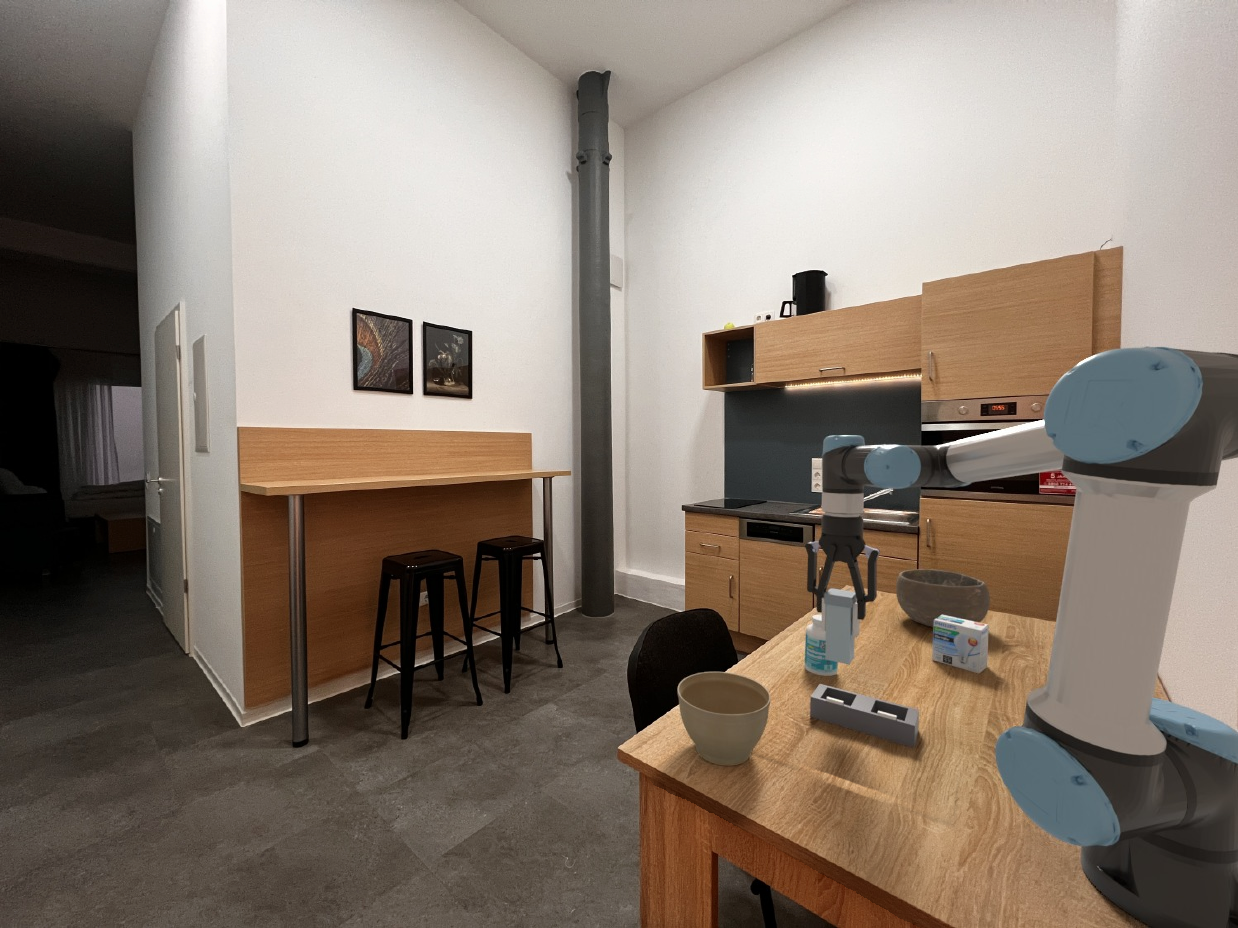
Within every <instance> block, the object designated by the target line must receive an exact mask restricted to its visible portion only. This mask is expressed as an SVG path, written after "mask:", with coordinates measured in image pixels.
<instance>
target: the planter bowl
mask: <svg viewBox="0 0 1238 928" xmlns="http://www.w3.org/2000/svg"><path fill="white" fill-rule="evenodd" d="M677 697H678V707H679V713H680V717H681V720H682V723H683V726H684V728H685V731H686V732H687V735H688V736H689V738H690V740H691V741H692V742H693V744H694V745H695V749H696V752H697V753H698V755H699V756H700V757H701V758H702V759H704V760H706V761H707V762H709V763H712V764H715V765H719V766H728V767H729V766H737V765H741V764H743V763H745V762H746V761H748V760H749V758H750V757H751V753H752V750H754V748H755V747H757V745H758V743H759V742H760V740H761V738H762V736H763V734H764V732H765V729H766V727H767V723H768V718H769V709H770V705H771V694H770V691H769V690H768V689H767V688H766V687H765V686H764V685H763V684H762V683H760V682H758V681H756V680H755V679H752V678H750V677H748V676H744V675H741V674H737V673H733V672H732V673H731V672H724V671H704V672H697V673H695V674H691V675H689V676H687V677H684V678H683V679H681V681H680V682H679V683H678V686H677Z"/></svg>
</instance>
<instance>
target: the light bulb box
mask: <svg viewBox="0 0 1238 928" xmlns="http://www.w3.org/2000/svg"><path fill="white" fill-rule="evenodd" d="M932 628H933V632H932V653H931V654H932V657H931V658H932V661H934V662H938V663H942V664H943V665H948V666H952V667H955V668H959V669H962V670H965V671H969V672H972V673H976V674H980V673H982V672H983V671H984V670H985V669H986V668H988V657H989V656H988V654H989V653H988V652H989V651H988V649H989V628H990V627H989V624H988V623H987V624H986V623H982V622H980V623H978V622H974V621H969V620H965V619H960V618H956V617H951V616H947V615H941V616H939V617H938V618H936V619H934V627H932Z"/></svg>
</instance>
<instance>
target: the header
mask: <svg viewBox="0 0 1238 928" xmlns="http://www.w3.org/2000/svg"><path fill="white" fill-rule="evenodd" d="M809 697H810V698H809V701H810V702H809V703H810V705H809V707H810V708H809V710H810V711H809V717H810V718H812V719H816V720H819V721H823V722H826V723H830V724H833V725H836V726H840V727H842V728H846V729H849V730H852V731H856V732H859V733H862V734H864V735H865V734H866V735H869V736H873V737H875V738H879V739H883V740H884V741H885V740H886V741H889V742H892V743H896V744H899V745H902V746H906V747H908V748H912V749H915V748H916V743H917V738H918V734H919V727H920V726H919V723H920V721H919V720H920V709H917V708H915V707H910V706H906V705H903V704H898V703H895V702H892V701H891V702H890V701H887V700H883V699H880V698H876V697H872V696H867V695H866V694H865V695H864V694H860V693H856V692H853V691H849V690H846V689H841V688H837V687H834V686H831V685H826V684H823V683H819V684H818V686H817V687H816V689H815V690H814V691H813V692H812V694H811V695H810V696H809Z"/></svg>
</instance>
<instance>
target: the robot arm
mask: <svg viewBox="0 0 1238 928" xmlns="http://www.w3.org/2000/svg"><path fill="white" fill-rule="evenodd" d="M1043 409H1044V410H1043V419H1042V420H1041V419H1040V420H1038V421H1033V422H1029V423H1025V424H1020V425H1015V426H1011V427H1008V428H1003V429H999V430H996V431H995V430H994V431H991V432H988V433H983V434H979V435H975V436H971V437H966V438H963V439H958V440H956V441H950V442H947V443H943V444H938V445H911V444H910V445H901V444H895V443H894V444H892V443H891V444H890V443H888V444H886V443H884V444H874V445H872V444H871V445H866V442H865V438H864V436H862V435H847V434H846V435H845V434H844V435H829V436H826V437H825V438H824V439H823V444H822V447H823V448H822V454H821V459H822V460H821V472H822V473H821V488H822V490H821V511H822V512H823V513H824V514H822V516H821V526H820V527H821V528H820V529H821V532H820V533H821V535H820V537H819V539H818V540H816V541H809V542H807V543H805V544H804V547H805V551H806V553H807V570H806V572H807V573H806V574H807V577H806V580H807V581H806V590H807V593H812V594H813V595H815V596H816V612H817V613H820V614H821V615H822V625H821V631H826V604H824V594H825V593H826V592H827V590H828V585H829V582H830V579H831V576H832V572H833V570H834V565H835V563H838V562H842V563H844V564H847V567H848V569H849V574H850V577H851V581H852V586H853V590H854V592H855V594H856V598H857V600H855V602H854V603H853V632H852V637H855V638H858V637H859V635H860V629H861V628H860V626H861V625H860V622H861V620H862V621H864V620H865V618H866V614H867V611H866V610H867V609H866V608H867V607H866V606H867V605H866V604H867V603H870V602H871V603H872V602H875V600H876V599H877V597H878V596H877V595H878V594H877V593H878V590H877V586H878V585H877V584H878V580H877V579H878V578H877V577H878V576H877V575H878V574H877V573H878V569H877V568H878V567H877V566H878V565H877V564H878V558H879V556H880V554H881V550H880V549H879V548H874V547H872V546H870V545H869V546H868V545H867V544H866V542H865V539H864V518H863V516H861V515H862V514H863V513H864V506H865V505H864V504H865V503H864V500H865V499H864V498H865V497H864V493H865V489H864V488H865V487H872V488H880V489H883V490H897V489H901V490H903V489H907V488H921V487H923V488H924V487H925V488H947V489H948V488H949V489H950V488H958V487H966V486H969V485H971V484H972V483H975V482H982V481H989V480H990V481H991V480H997V479H1003V478H1010V477H1015V476H1016V477H1017V476H1018V477H1019V476H1023V475H1031V474H1038V473H1044V472H1050V471H1051V472H1052V471H1053V472H1054V471H1057V470H1058V471H1059V470H1060V471H1061V474H1062V475H1063V476H1064V477H1066V479H1067V480H1068V481H1069V482H1070V483H1072V484H1073V486H1074V487H1075V489H1076V490H1075V498H1074V504H1073V505H1074V506H1073V509H1072V510H1073V512H1072V516H1071V524H1070V529H1069V535H1068V543H1067V550H1066V557H1065V561H1064V569H1063V574H1062V581H1061V582H1062V583H1061V588H1060V593H1059V594H1060V595H1059V601H1058V607H1057V614H1056V620H1055V621H1056V622H1055V627H1054V634H1053V639H1052V646H1051V651H1050V658H1049V659H1050V660H1049V667H1048V671H1047V679H1046V685H1043V686H1042V687H1038V688H1034V689H1032V690H1031V691H1029V692H1028V694H1027V697H1026V702H1025V711H1024V717H1023V722H1022V725H1021V726H1020V725H1014V726H1012V727H1009V728H1008V729H1006V730H1005V731H1003V732H1002V733H1000V735H999V736H998V737H997V740H996V743H995V749H994V752H995V753H994V754H995V763H996V766H997V770H998V774H999V776H1000V777H1001V780H1002V782H1003V785H1005V787H1006V788H1007V789H1008V791H1009V793H1010V796H1011V798H1012V800H1014V802H1015V803H1016V805H1017V806H1018V807H1019V808H1020V810H1021V811H1022V812H1023V814H1025V815H1026V816H1027V817H1028V818H1029V819H1030V820H1031V821H1032V822H1033V823H1034V824H1035V825H1036V826H1037V827H1039V828H1040V829H1041V830H1042V831H1044V832H1045V833H1047V834H1048V835H1050V836H1052V837H1053V838H1055V839H1057V840H1058V841H1059V840H1060V842H1064V843H1067V844H1069V845H1073V846H1076V847H1077V846H1078V847H1080V865H1081V868H1082V871H1083V872H1084V874H1085V876H1086V875H1087V876H1086V877H1087V879H1088V880H1089V879H1090V880H1089V881H1090V882H1091V883H1092V885H1094V886H1096V887H1095V888H1096V889H1097V890H1098V891H1099V892H1100V891H1101V892H1102V893H1101V894H1102V895H1103V896H1105V897H1106V898H1107V899H1108V900H1109V901H1111V902H1112V903H1113V904H1114V905H1116V906H1117V907H1119V908H1120V909H1122V910H1123V911H1124V912H1125V913H1128V915H1131V917H1134V918H1135V919H1137V920H1138V921H1140V922H1141V923H1143V922H1144V924H1145V925H1147V926H1149V927H1151V928H1238V731H1237V730H1235V728H1233V727H1231V725H1228V724H1227V723H1225V722H1223V721H1221V720H1220V719H1217V718H1215V717H1213V716H1211V715H1208V714H1206V713H1203V712H1201V711H1198V710H1195V709H1193V708H1190V707H1187V706H1184V705H1181V704H1179V703H1178V704H1177V703H1175V702H1172V701H1168V700H1164V699H1161V698H1157V697H1154V696H1155V695H1154V694H1155V691H1156V690H1155V689H1156V685H1157V678H1158V674H1159V668H1160V663H1161V658H1162V654H1163V653H1162V652H1163V647H1164V640H1165V637H1166V631H1167V627H1168V622H1169V615H1170V610H1171V605H1172V600H1173V594H1174V589H1175V583H1176V578H1177V573H1178V568H1179V564H1180V563H1179V562H1180V559H1181V558H1180V557H1181V552H1182V546H1183V541H1184V536H1185V531H1186V527H1187V520H1188V515H1189V510H1190V505H1191V502H1193V501H1194V500H1195V499H1197V498H1199V497H1201V496H1203V495H1204V494H1207V493H1209V492H1211V491H1213V490H1215V489H1216V488H1217V485H1218V481H1219V476H1220V471H1221V467H1222V466H1221V465H1222V462H1223V461H1228V460H1232V459H1237V458H1238V354H1237V353H1230V352H1229V353H1227V352H1215V351H1214V352H1210V351H1204V350H1203V351H1202V350H1193V349H1192V350H1190V349H1181V348H1173V347H1165V346H1155V347H1154V346H1142V347H1122V348H1115V349H1114V348H1113V349H1110V350H1106V351H1105V350H1104V351H1102V352H1099V353H1096V354H1094V355H1092V356H1091V355H1090V356H1089V357H1087V358H1085V359H1084V360H1081V361H1080V362H1078V363H1077V364H1076V365H1074V367H1073V368H1071V369H1070V370H1068V371H1067V372H1066V373H1064V374H1063V375H1062V376H1061V377H1060V378H1059V379H1058V380H1057V382H1056V383H1055V384H1054V385H1053V387H1052V389H1051V391H1050V393H1049V394H1048V397H1047V399H1046V402H1045V405H1044V408H1043ZM820 549H822V551H823V552H824V554H825V556H826V557H825V560H824V566H823V569H822V573H821V576H820V579H819V582H818V586H817V581H818V580H817V578H818V577H817V576H818V573H817V572H818V552H819V550H820ZM863 552H864V553H865V558H866V559H868V560H867V593H866V591H865V588H864V583H863V579H862V576H861V573H860V569H859V568H860V567H859V562H858V558H859V556H860V555H861V554H862V553H863Z"/></svg>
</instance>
